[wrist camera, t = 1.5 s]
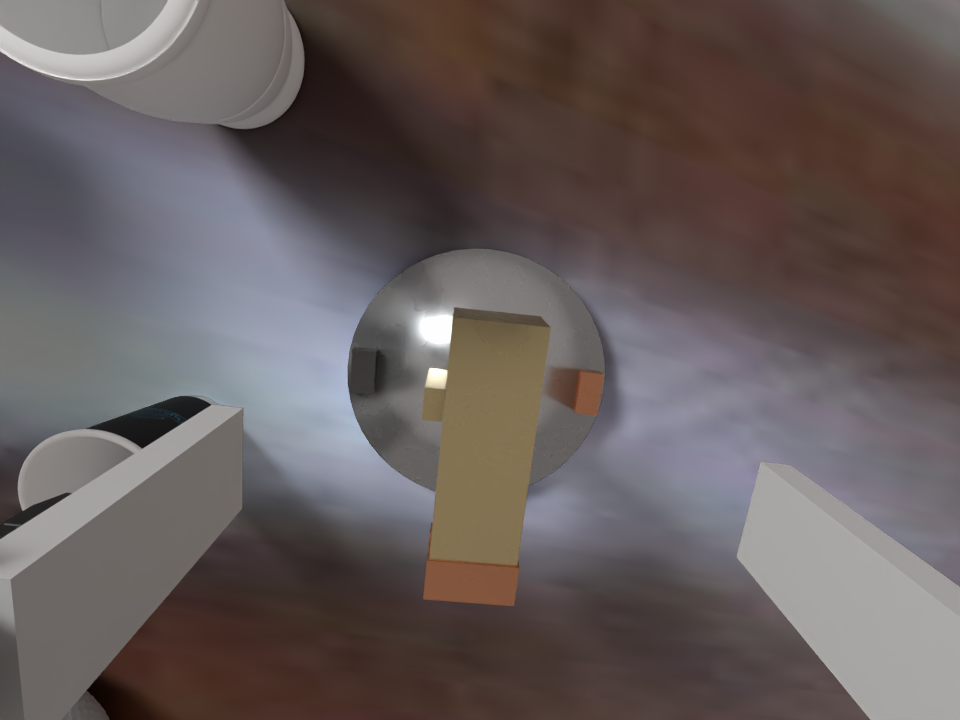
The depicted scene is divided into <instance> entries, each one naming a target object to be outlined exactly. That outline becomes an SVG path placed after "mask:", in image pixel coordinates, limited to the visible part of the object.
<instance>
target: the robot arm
mask: <svg viewBox="0 0 960 720" xmlns="http://www.w3.org/2000/svg"><path fill="white" fill-rule="evenodd" d="M242 476H243V408H239V407H229V406H220V405H211V406H209V407H208V408H206V409H204V410H203V411H201V412H200V413H198V414H197V415H195V416H193V417H192V418H190V419H189V420H187V421H186V422H184V423H182V424H181V425H179V426H178V427H176V428H175V429H173V430H171V431H170V432H168V433H167V434H165V435H163V436H162V437H160V438H159V439H157V440H156V441H154V442H152V443H151V444H149V445H148V446H146V447H145V448H143V449H141V450H140V451H138V452H137V453H135V454H134V455H132V456H130V457H129V458H127V459H126V460H124V461H123V462H121V463H119V464H118V465H116V466H115V467H113V468H112V469H110V470H108V471H107V472H105V473H104V474H102V475H100V476H99V477H97V478H96V479H94V480H93V481H91V482H89V483H88V484H86V485H85V486H83V487H82V488H80V489H78V490H77V491H75V492H74V493H64V494H61V495H59V496H56V497H53V498H51V499H48V500H45V501H42V502H40V503H37V504H34V505H32V506H30V507H29V508H27V509H25V510H24V511H22V512H20V513H19V514H17V515H15V516H14V517H12V518H11V519H9V520H7V521H6V522H5V524H4V525H0V720H61V719H62V718H63V717H64V716H65V715H66V714H67V712H68V711H69V710H70V709H71V708H72V707H73V705H74V704H75V703H76V702H77V701H78V700H79V698H80V697H81V696H82V695H83V694H84V693H85V691H86V690H87V689H88V688H89V687H90V686H91V684H92V683H93V682H94V681H95V680H96V679H97V677H98V676H99V675H100V674H101V673H102V672H103V670H104V669H105V668H106V667H107V666H108V665H109V663H110V662H111V661H112V660H113V659H114V658H115V656H116V655H117V654H118V653H119V652H120V651H121V649H122V648H123V647H124V646H125V645H126V644H127V642H128V641H129V640H130V639H131V638H132V637H133V635H134V634H135V633H136V632H137V631H138V630H139V628H140V627H141V626H142V625H143V624H144V623H145V621H146V620H147V619H148V618H149V617H150V616H151V614H152V613H153V612H154V611H155V610H156V609H157V607H158V606H159V605H160V604H161V603H162V602H163V600H164V599H165V598H166V597H167V596H168V595H169V593H170V592H171V591H172V590H173V589H174V588H175V586H176V585H177V584H178V583H179V582H180V581H181V579H182V578H183V577H184V576H185V575H186V574H187V572H188V571H189V570H190V569H191V568H192V567H193V566H194V564H195V563H196V562H197V561H198V560H199V559H200V557H201V556H202V555H203V554H204V553H205V552H206V550H207V549H208V548H209V547H210V546H211V545H212V543H213V542H214V541H215V540H216V539H217V538H218V536H219V535H220V534H221V533H222V532H223V531H224V529H225V528H226V527H227V526H228V525H229V524H230V522H231V521H232V520H233V519H234V518H235V517H236V515H237V514H238V513H239V512H240V511H241V510H242ZM737 558H738V559H739V560H740V562H741V563H742V564H743V565H744V567H745V568H746V569H747V570H748V571H749V573H750V574H751V575H752V576H753V577H754V579H755V580H756V581H757V582H758V584H759V585H760V586H761V587H762V588H763V590H764V591H765V592H766V593H767V595H768V596H769V597H770V598H771V599H772V601H773V602H774V603H775V604H776V605H777V607H778V608H779V609H780V610H781V612H782V613H783V614H784V615H785V616H786V618H787V619H788V620H789V621H790V622H791V624H792V625H793V626H794V627H795V629H796V630H797V631H798V632H799V633H800V635H801V636H802V637H803V638H804V639H805V641H806V642H807V643H808V644H809V646H810V647H811V648H812V649H813V650H814V652H815V653H816V654H817V655H818V656H819V658H820V659H821V660H822V661H823V663H824V664H825V665H826V666H827V667H828V669H829V670H830V671H831V672H832V673H833V675H834V676H835V677H836V678H837V680H838V681H839V682H840V683H841V684H842V686H843V687H844V688H845V689H846V690H847V692H848V693H849V694H850V695H851V697H852V698H853V699H854V700H855V701H856V703H857V704H858V705H859V706H860V707H861V709H862V710H863V711H864V712H865V714H866V715H867V716H868V717H869V718H870V720H960V587H959V586H958V585H956V584H955V583H953V582H952V581H951V580H949V579H948V578H946V577H945V576H944V575H942V574H941V573H939V572H938V571H937V570H935V569H934V568H933V567H931V566H930V565H928V564H927V563H926V562H924V561H923V560H921V559H920V558H919V557H917V556H916V555H914V554H913V553H912V552H910V551H909V550H907V549H906V548H905V547H903V546H902V545H901V544H899V543H898V542H896V541H895V540H894V539H892V538H891V537H889V536H888V535H887V534H885V533H884V532H882V531H881V530H880V529H878V528H877V527H875V526H874V525H873V524H871V523H870V522H868V521H867V520H866V519H864V518H863V517H862V516H860V515H859V514H857V513H856V512H855V511H853V510H852V509H850V508H849V507H848V506H846V505H845V504H843V503H842V502H841V501H839V500H838V499H836V498H835V497H834V496H832V495H831V494H830V493H828V492H827V491H825V490H824V489H823V488H821V487H820V486H818V485H817V484H816V483H814V482H813V481H811V480H810V479H809V478H807V477H806V476H804V475H803V474H802V473H800V472H799V471H797V470H796V469H795V468H793V467H792V466H791V465H784V464H775V463H765V462H761V464H760V468H759V472H758V475H757V479H756V483H755V487H754V491H753V495H752V499H751V503H750V507H749V511H748V515H747V519H746V522H745V526H744V530H743V534H742V538H741V542H740V546H739V550H738V554H737Z"/></svg>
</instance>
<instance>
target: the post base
mask: <svg viewBox="0 0 960 720" xmlns="http://www.w3.org/2000/svg"><path fill="white" fill-rule="evenodd" d="M454 307H457V308H466V309H476V310H486V311H495V312H505V313H515V314H524V315H534V316H541V317H542V318H543V319H544V321H545V322H546V323H547V324H548V325H549V326H550V327H551V330H550V337H549V344H548V351H547V358H546V365H545V372H544V379H543V386H542V393H541V400H540V408H539V415H538V422H537V429H536V436H535V443H534V450H533V457H532V464H531V471H530V478H529V485H528V486H530V485H532V484H534V483H536V482H538V481H540V480H542V479H543V478H545V477H546V476H548V475H550V474H551V473H553V472H554V471H555V470H557V469H558V468H559V467H560V466H561V465H563V464H564V463H565V462H566V461H567V460H568V459H569V458H570V457H571V456H572V455H573V454H574V453H575V452H576V450H577V449H578V448H579V446H580V445H581V444H582V442H583V441H584V440H585V438H586V437H587V435H588V433H589V431H590V429H591V427H592V426H593V424H594V422H595V419H596V416H597V414H598V411H599V409H600V405H601V401H602V396H603V392H604V382H605V360H604V354H603V348H602V343H601V340H600V337H599V334H598V330H597V328H596V325H595V323H594V321H593V319H592V317H591V315H590V313H589V311H588V310H587V308H586V307H585V305H584V304H583V302H582V301H581V299H580V298H579V297H578V296H577V295H576V293H575V292H574V291H573V290H572V289H571V288H570V287H569V286H568V285H567V284H566V283H565V282H564V281H563V280H561V279H560V278H559V277H558V276H557V275H555V274H554V273H552V272H551V271H549V270H548V269H546V268H545V267H543V266H542V265H540V264H538V263H535V262H533V261H531V260H529V259H527V258H525V257H522V256H519V255H516V254H513V253H509V252H505V251H500V250H494V249H482V248H469V249H458V250H453V251H449V252H444V253H440V254H437V255H434V256H432V257H429V258H426V259H424V260H422V261H420V262H418V263H416V264H415V265H413V266H411V267H409V268H407V269H406V270H404V271H403V272H402V273H400V274H399V275H397V276H396V277H395V278H393V279H392V280H391V281H390V282H389V283H388V284H387V285H386V286H385V287H384V288H383V289H382V290H381V291H380V292H379V293H378V294H377V295H376V297H375V298H374V299H373V300H372V302H371V303H370V304H369V306H368V307H367V309H366V311H365V313H364V314H363V316H362V318H361V319H360V322H359V324H358V326H357V329H356V331H355V334H354V337H353V340H352V344H351V348H350V353H349V361H348V387H349V394H350V400H351V404H352V407H353V410H354V414H355V417H356V419H357V421H358V423H359V425H360V428H361V430H362V432H363V433H364V435H365V436H366V438H367V440H368V441H369V443H370V444H371V446H372V447H373V448H374V449H375V450H376V452H377V453H378V454H379V455H380V456H381V457H382V458H383V459H384V460H385V461H386V462H387V463H388V464H389V465H390V466H391V467H392V468H394V469H395V470H396V471H398V472H399V473H400V474H402V475H403V476H404V477H406V478H408V479H410V480H412V481H413V482H415V483H417V484H419V485H421V486H424V487H426V488H429V489H431V490H434V491H436V485H437V475H438V464H439V454H440V444H441V433H442V423H443V419H442V422H438V421H427V420H422V410H423V399H424V387H425V384H426V380H427V376H428V372H429V369H430V368H432V369H443V370H448V361H449V351H450V340H451V330H452V320H453V312H454ZM443 413H444V411H443Z"/></svg>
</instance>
